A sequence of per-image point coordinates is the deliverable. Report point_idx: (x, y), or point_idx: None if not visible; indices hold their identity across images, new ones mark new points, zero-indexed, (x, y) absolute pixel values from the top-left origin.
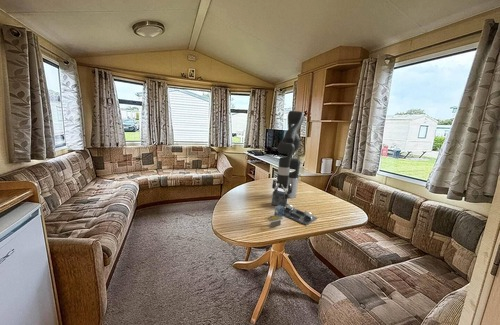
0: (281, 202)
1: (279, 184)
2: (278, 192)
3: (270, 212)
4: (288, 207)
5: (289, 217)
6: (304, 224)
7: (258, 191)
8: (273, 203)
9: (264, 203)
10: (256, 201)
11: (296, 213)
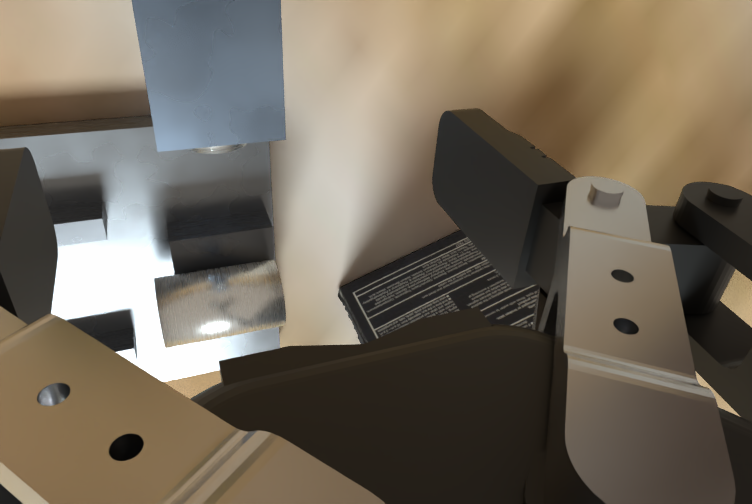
0: (405, 309)
1: (579, 463)
2: None
3: (374, 14)
4: (212, 276)
5: (47, 126)
6: None
7: (741, 312)
8: None
9: (580, 165)
10: (679, 120)
11: (83, 297)
